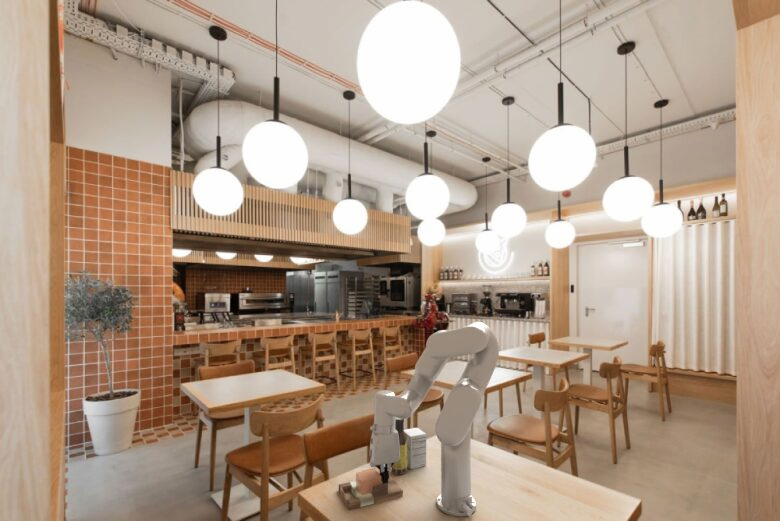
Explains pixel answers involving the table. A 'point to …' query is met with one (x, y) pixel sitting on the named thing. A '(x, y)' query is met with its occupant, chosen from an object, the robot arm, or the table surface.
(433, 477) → the table surface
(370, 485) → the terracotta block
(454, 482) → the robot arm
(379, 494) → the tunnel board
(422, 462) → the supplement box
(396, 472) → the sauce bottle
